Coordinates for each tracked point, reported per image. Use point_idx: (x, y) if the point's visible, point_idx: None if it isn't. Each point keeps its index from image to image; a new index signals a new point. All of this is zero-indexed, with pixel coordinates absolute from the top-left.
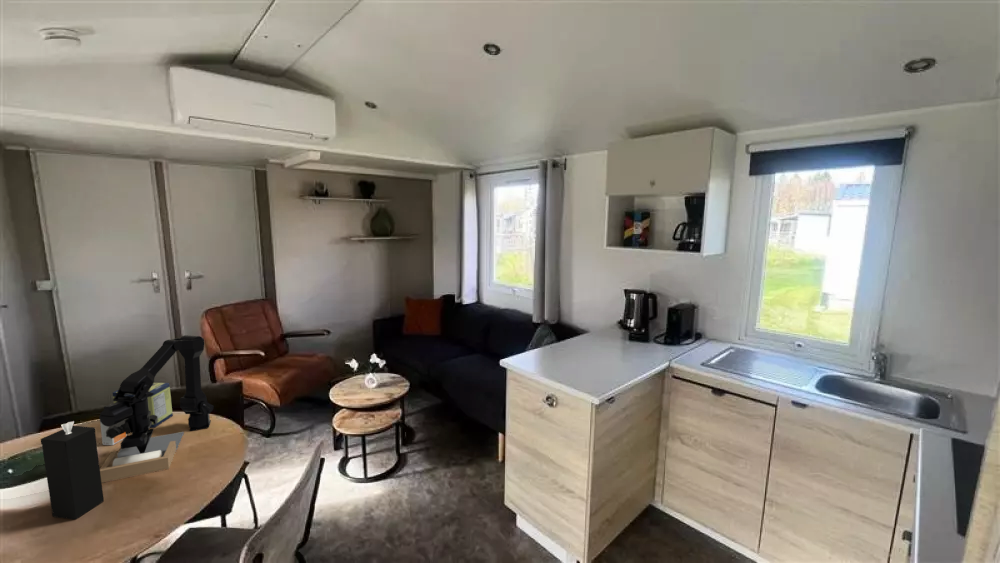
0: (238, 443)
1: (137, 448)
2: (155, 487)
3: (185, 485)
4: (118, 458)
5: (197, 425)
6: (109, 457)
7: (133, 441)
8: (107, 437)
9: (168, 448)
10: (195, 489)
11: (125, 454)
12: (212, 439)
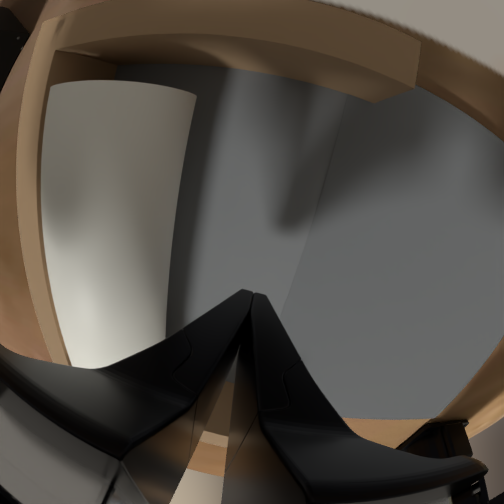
0: (192, 469)
1: (201, 316)
2: (6, 275)
3: (13, 333)
4: (71, 120)
5: (415, 453)
6: (274, 8)
7: None
8: None
9: None
10: (4, 339)
11: (441, 165)
12: None
